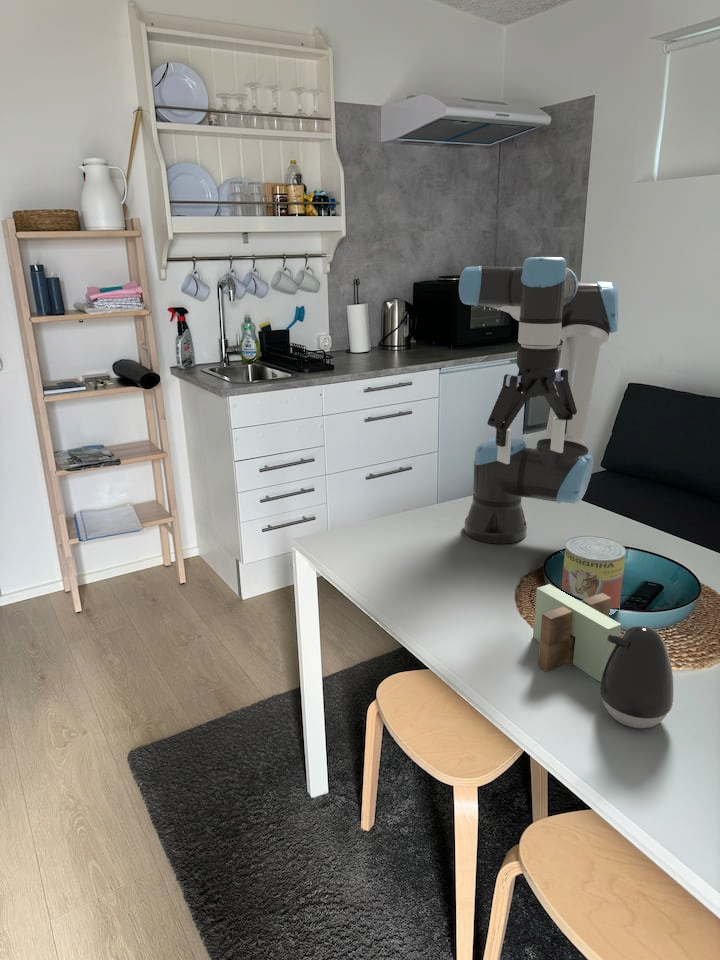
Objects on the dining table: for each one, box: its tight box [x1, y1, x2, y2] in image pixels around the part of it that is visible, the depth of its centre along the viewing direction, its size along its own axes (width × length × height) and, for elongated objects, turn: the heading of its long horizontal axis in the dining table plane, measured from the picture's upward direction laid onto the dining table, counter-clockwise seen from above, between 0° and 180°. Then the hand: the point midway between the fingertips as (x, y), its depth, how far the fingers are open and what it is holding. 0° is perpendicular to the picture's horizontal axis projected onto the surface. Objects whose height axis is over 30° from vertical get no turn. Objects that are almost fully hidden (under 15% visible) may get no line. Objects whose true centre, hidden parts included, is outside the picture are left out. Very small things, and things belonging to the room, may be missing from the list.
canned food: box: [561, 535, 627, 609], centre depth 135 cm, size 11×11×12 cm
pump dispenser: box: [599, 625, 675, 729], centre depth 102 cm, size 10×10×15 cm
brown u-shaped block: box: [537, 593, 611, 673], centre depth 118 cm, size 14×2×10 cm, turn 120°
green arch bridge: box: [532, 583, 622, 683], centre depth 118 cm, size 3×16×10 cm, turn 30°
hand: (530, 456), depth 133 cm, fingers open, 13 cm apart
